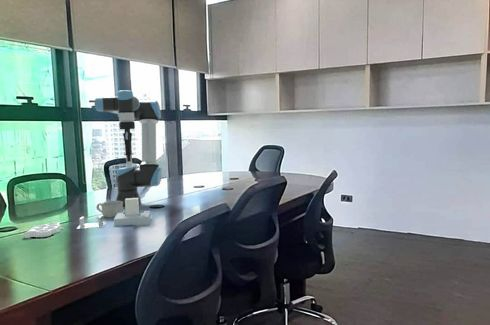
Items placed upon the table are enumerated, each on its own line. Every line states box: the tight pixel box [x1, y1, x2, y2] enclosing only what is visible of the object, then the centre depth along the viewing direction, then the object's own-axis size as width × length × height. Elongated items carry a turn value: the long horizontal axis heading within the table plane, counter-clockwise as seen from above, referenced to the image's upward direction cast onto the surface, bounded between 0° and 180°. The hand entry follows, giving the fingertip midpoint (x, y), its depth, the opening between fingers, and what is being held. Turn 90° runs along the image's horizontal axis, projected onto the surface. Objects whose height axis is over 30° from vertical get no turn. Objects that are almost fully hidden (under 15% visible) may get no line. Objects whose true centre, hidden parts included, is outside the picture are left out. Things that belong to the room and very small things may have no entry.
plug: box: [124, 198, 140, 216], centre depth 195 cm, size 4×6×12 cm, turn 101°
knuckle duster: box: [22, 222, 64, 239], centre depth 180 cm, size 3×18×15 cm
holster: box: [76, 214, 107, 230], centre depth 190 cm, size 10×12×5 cm
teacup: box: [96, 200, 124, 219], centre depth 209 cm, size 14×11×8 cm
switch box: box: [113, 210, 151, 227], centre depth 195 cm, size 14×16×4 cm
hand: (129, 167), depth 203 cm, fingers closed
